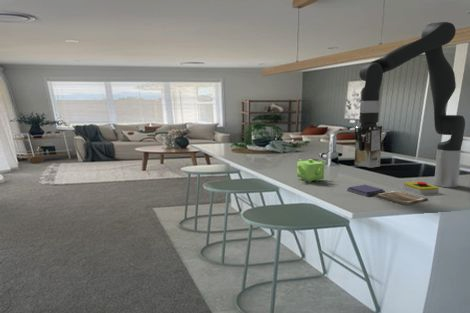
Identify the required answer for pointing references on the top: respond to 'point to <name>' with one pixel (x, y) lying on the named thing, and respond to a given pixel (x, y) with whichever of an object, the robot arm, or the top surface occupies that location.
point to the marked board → (401, 197)
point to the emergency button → (421, 188)
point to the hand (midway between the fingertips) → (367, 149)
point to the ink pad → (365, 190)
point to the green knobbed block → (310, 170)
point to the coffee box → (369, 149)
